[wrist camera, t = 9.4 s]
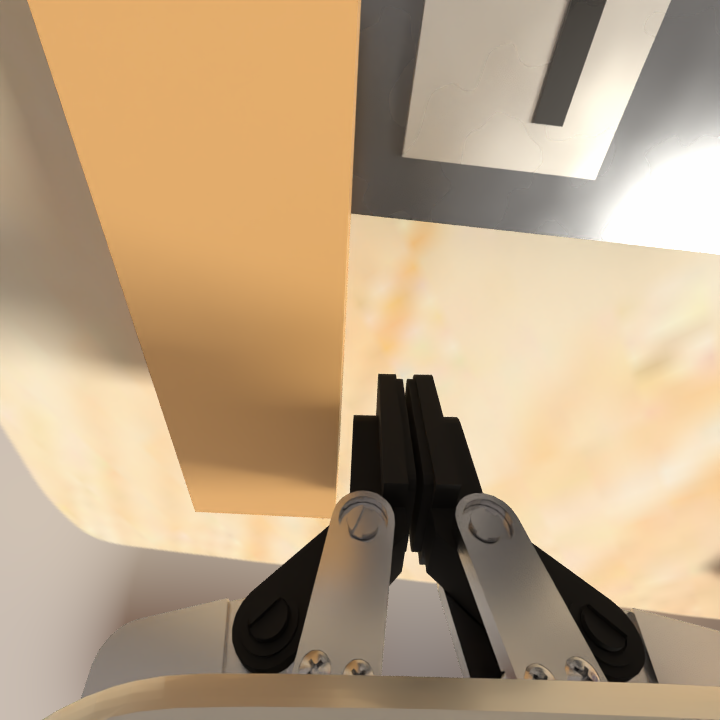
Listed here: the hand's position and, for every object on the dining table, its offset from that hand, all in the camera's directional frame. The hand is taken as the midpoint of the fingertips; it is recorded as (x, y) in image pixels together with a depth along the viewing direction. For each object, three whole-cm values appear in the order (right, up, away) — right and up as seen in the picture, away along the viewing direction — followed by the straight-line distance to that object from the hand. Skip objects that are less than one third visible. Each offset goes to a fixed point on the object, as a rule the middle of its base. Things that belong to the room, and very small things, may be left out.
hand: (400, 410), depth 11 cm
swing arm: (-4, +4, -3) cm, 6 cm away
